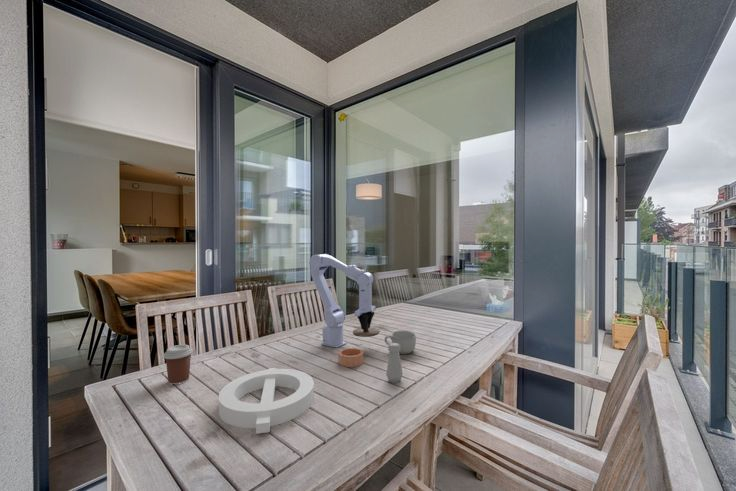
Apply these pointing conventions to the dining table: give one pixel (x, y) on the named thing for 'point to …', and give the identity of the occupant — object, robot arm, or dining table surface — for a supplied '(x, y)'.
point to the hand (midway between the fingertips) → (365, 328)
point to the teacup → (403, 341)
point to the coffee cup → (178, 363)
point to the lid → (366, 332)
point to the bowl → (351, 357)
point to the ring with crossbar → (265, 399)
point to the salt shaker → (394, 364)
